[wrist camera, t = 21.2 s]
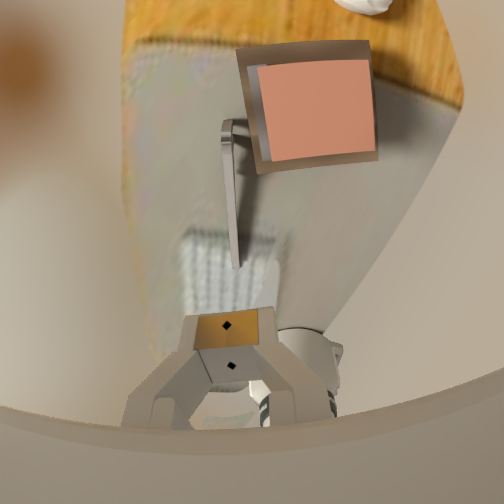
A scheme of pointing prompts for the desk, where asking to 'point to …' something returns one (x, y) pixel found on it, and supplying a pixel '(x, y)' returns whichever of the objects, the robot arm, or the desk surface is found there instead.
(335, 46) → the block
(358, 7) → the white ridged ball
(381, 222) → the desk surface
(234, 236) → the caliper
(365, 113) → the panel
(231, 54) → the desk surface
